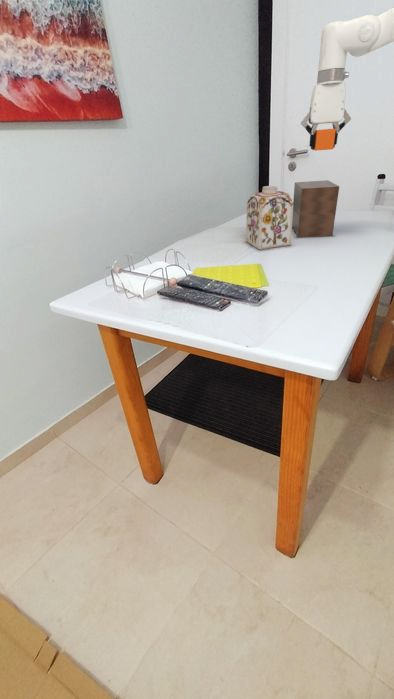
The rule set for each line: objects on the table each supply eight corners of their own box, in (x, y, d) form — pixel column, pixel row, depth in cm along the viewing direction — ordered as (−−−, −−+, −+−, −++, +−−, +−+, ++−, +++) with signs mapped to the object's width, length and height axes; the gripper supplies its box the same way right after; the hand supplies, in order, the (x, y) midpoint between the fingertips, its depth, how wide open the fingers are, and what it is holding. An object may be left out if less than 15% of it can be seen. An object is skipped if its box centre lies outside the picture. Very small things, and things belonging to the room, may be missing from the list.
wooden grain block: (322, 225, 133) (327, 180, 125) (332, 235, 119) (339, 186, 111) (291, 226, 135) (294, 182, 126) (297, 237, 121) (301, 188, 112)
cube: (329, 148, 113) (331, 128, 110) (333, 149, 108) (335, 128, 105) (311, 149, 114) (313, 130, 111) (315, 150, 109) (317, 130, 106)
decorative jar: (245, 241, 120) (246, 186, 111) (275, 237, 122) (278, 183, 113) (259, 250, 111) (260, 190, 101) (291, 245, 113) (296, 186, 103)
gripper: (356, 77, 103) (346, 146, 113) (299, 83, 105) (294, 149, 115) (364, 73, 97) (352, 146, 107) (303, 79, 99) (297, 150, 109)
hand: (322, 147), depth 111 cm, fingers closed on cube, 5 cm apart
